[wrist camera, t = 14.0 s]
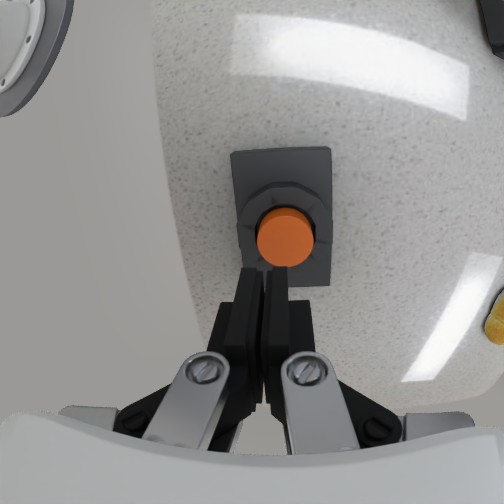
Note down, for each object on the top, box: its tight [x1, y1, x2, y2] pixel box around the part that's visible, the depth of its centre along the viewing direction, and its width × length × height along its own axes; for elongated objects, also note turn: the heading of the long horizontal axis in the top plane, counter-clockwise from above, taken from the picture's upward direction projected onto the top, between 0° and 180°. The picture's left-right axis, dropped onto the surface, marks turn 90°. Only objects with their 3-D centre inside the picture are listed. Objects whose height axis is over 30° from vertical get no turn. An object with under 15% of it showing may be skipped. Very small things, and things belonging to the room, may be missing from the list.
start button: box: [257, 208, 314, 267], centre depth 19 cm, size 4×4×2 cm
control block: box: [230, 146, 333, 288], centre depth 21 cm, size 11×7×4 cm, turn 5°
